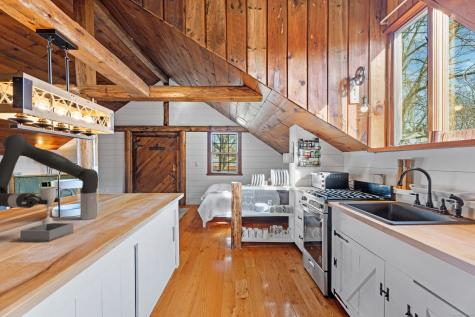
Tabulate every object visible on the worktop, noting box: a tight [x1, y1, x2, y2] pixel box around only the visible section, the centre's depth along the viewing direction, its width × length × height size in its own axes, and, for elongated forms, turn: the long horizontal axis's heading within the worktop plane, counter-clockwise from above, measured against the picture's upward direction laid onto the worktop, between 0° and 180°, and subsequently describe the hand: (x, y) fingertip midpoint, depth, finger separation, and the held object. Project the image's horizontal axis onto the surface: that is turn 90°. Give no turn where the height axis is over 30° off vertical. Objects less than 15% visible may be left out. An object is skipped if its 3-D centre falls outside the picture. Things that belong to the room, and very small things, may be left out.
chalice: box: [39, 186, 58, 224], centre depth 123 cm, size 7×7×18 cm
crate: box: [19, 222, 74, 243], centre depth 123 cm, size 15×15×5 cm
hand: (52, 201), depth 123 cm, fingers closed on chalice, 6 cm apart
